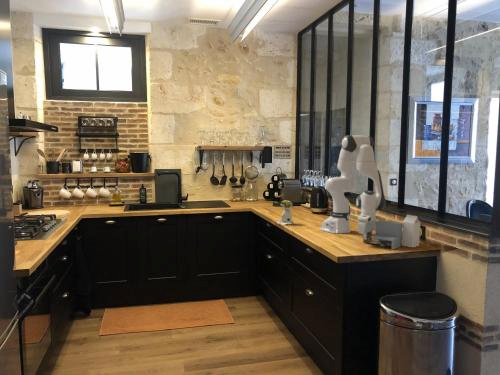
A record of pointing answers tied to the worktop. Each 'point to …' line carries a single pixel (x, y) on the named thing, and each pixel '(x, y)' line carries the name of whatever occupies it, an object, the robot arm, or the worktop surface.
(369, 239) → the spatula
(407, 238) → the milk carton
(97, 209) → the worktop surface
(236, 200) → the worktop surface
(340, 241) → the worktop surface
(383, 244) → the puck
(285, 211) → the potted plant
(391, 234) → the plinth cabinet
